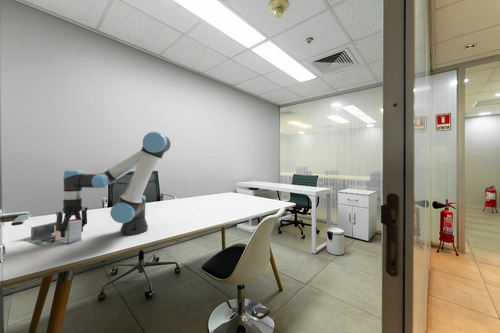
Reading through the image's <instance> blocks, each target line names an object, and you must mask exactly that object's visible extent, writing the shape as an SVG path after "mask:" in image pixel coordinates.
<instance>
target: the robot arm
mask: <svg viewBox="0 0 500 333" xmlns="http://www.w3.org/2000/svg"><path fill="white" fill-rule="evenodd" d="M170 148H171V141H170V138H169V137H168V136H166V135H164V134H163V133H161V132H158V131H150V132H148V133H147V134H145V135H144V137H143V139H142V147H141V149H140V150H138V151H137V152H136V153H134V154H132V155H131V156H129V157H126V159H124V160H122V161H121V162H119V163H117V164H115V165H114V166H112V167H111V168H108V169H107V170H106V171H103V172H101V173H83V170H81V169H67V170H65V171H64V172H63V178H62V179H63V190H62V191H63V194H62V196H63V200H62V202H63V203H62V206H63V208H62V210H60V211H56V212H55V214H56V221H55V222H56V231H60V232H61V237H62V240H61V241H62V243H63V244H68V243H67V231H66V228H67V225H68V222H69V220H71V218H72V216H74V217H75V218H74V219H78V220H82V227H81V233H83V231H84V227H85V226H86V225H87V224H88V214H87V213H88V209H89V208H88V207H85V206H82V204H83V201H82V200H83V189H84V188H85V189H86V188H88V189H89V188H90V189H91V188H92V189H93V188H94V189H95V188H96V189H102V188H105V187H107V186H108V185H112V184H114V183H115V182H116V181H117V180H118V179H120V178H122V177H123V176H125V175H126V174H128V173H130V172H131V171H133V170H134V172H133V174H132V176H131V179H130V181H129V183H128V185H127V187H126V190H125V192H124V193H123V194H120V196H119V198H118V200H117V202H116V203H114V205H113V206H112V207H111V209H110V217H111V218H112V219H113V221H114V222H116V223H119V224H121V227H120V229H119V230H120V234H121V235H124V236H134V235H140V234H142V233H145V232H147V231H148V229H149V228H148V227H149V225H148V223H147V220H146V201H147V199H146V195H143V194H144V192H145V190H146V187H147V185H148V182H149V180H150V179H151V175H153V171H154V169H155V167H156V165H157V163H158V161H159V160H162V158H163V156H164V155H165V153H166V152H168V151H169V150H170ZM63 215H64V216H63Z"/></svg>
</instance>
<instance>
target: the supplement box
mask: <svg viewBox="0 0 500 333" xmlns="http://www.w3.org/2000/svg"><path fill="white" fill-rule="evenodd" d="M81 227H82V220H78V219H76V218H73V219H69V222H68V225H67V228H66V231H67V243H66V244H70V245H71V244H74V243H76V242H79V241H82V232H81Z"/></svg>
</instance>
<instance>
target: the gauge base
mask: <svg viewBox="0 0 500 333" xmlns="http://www.w3.org/2000/svg"><path fill="white" fill-rule="evenodd" d="M54 226H56V221H54V222H50V223H45V224H40V225H36V226H31V227H30V237H29V238H25V239H23V241H24V242H28V243H32V244H35V245H38V246H42V247H43V246H47V245H50V244H54V243H57V242H60V241H62V239H61V240H57V241H55V239H54V238H52V239H49V240H45V241H42V240H43V239H47V238H50V237H52V233H54Z"/></svg>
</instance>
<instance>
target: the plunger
mask: <svg viewBox="0 0 500 333" xmlns="http://www.w3.org/2000/svg"><path fill="white" fill-rule="evenodd" d="M52 238H54V239H55V241H57V240H60V241H62V240H61V239H62V237H61V232H60V231H56V226H54V233H52V237H50V238H47V239H43V240H42V241H45V240H49V239H52ZM57 242H58V241H57Z"/></svg>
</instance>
